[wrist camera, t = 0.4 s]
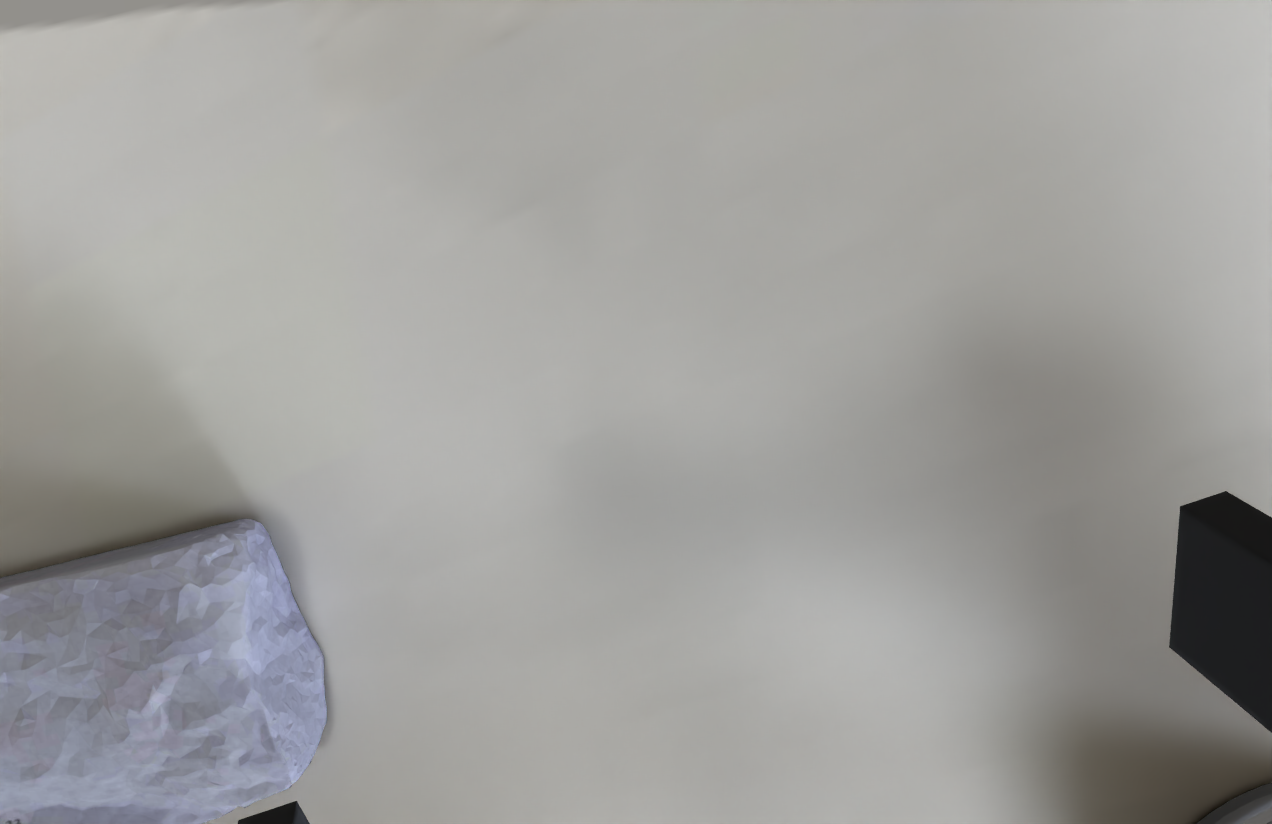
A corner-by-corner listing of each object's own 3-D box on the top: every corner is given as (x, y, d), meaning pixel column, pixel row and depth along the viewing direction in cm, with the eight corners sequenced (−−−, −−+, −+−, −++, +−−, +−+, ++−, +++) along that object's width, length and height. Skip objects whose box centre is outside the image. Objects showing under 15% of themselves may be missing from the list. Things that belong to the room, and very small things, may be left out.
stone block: (364, 715, 33) (265, 485, 30) (332, 811, 29) (211, 552, 25) (65, 791, 33) (-67, 569, 30) (-14, 898, 29) (-181, 652, 25)
